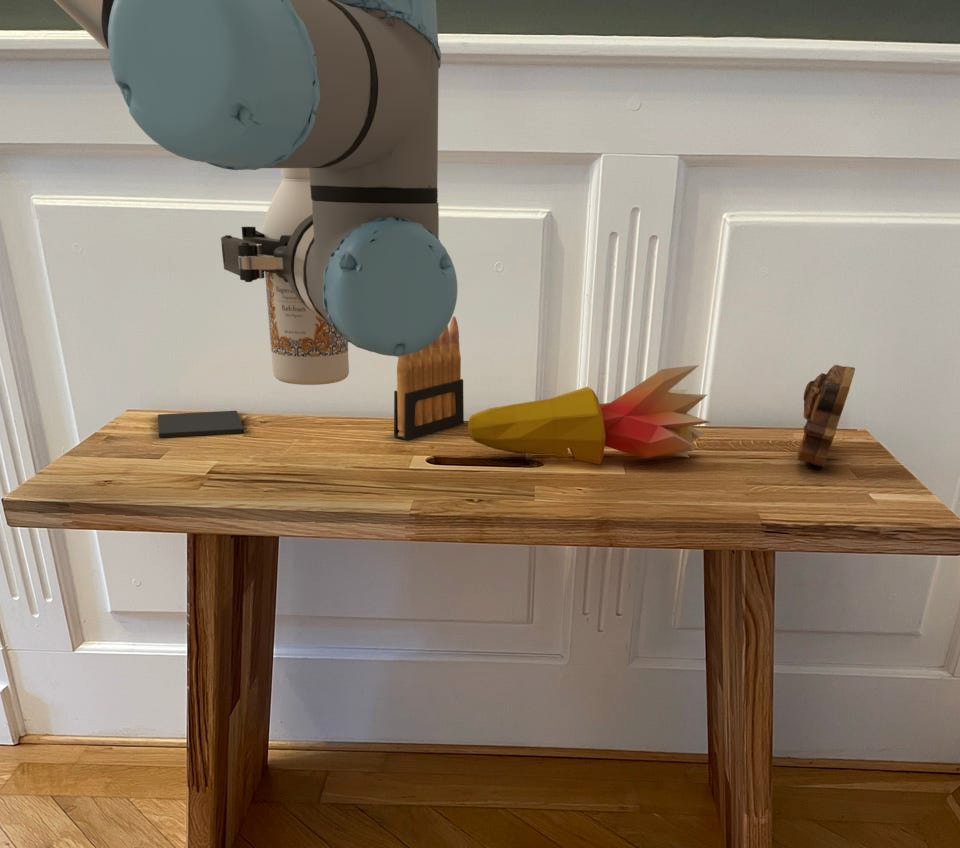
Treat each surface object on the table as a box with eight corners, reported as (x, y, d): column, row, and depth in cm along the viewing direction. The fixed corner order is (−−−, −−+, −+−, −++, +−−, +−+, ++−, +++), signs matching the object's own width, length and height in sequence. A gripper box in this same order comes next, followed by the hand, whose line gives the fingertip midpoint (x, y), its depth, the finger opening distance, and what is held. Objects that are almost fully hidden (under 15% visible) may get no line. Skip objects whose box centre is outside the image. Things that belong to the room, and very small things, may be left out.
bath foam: (261, 383, 82) (239, 129, 73) (291, 369, 88) (274, 133, 79) (334, 388, 81) (320, 131, 72) (359, 374, 87) (350, 134, 78)
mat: (159, 437, 99) (158, 433, 98) (158, 418, 106) (157, 414, 106) (244, 432, 101) (243, 428, 101) (237, 414, 109) (236, 410, 109)
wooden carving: (792, 441, 103) (809, 350, 99) (834, 445, 102) (853, 353, 98) (790, 481, 89) (809, 377, 85) (839, 486, 88) (861, 381, 84)
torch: (474, 488, 97) (707, 460, 97) (474, 473, 89) (727, 442, 89) (465, 412, 97) (697, 383, 97) (464, 390, 89) (716, 359, 89)
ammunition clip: (406, 440, 100) (404, 326, 94) (393, 437, 101) (391, 324, 95) (464, 422, 108) (465, 316, 102) (451, 420, 109) (452, 314, 103)
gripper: (479, 212, 66) (399, 202, 85) (193, 209, 60) (176, 199, 79) (477, 321, 69) (400, 288, 88) (206, 328, 63) (187, 291, 82)
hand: (294, 246), depth 84 cm, fingers closed on bath foam, 7 cm apart
